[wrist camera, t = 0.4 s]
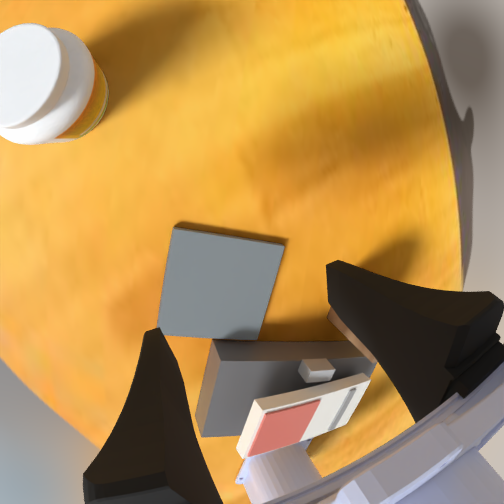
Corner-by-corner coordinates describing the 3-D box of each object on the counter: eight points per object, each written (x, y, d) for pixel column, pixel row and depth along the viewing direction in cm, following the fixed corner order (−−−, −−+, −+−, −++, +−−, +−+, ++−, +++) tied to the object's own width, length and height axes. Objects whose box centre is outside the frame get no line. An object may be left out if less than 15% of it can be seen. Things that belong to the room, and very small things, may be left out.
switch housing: (333, 405, 33) (352, 430, 29) (194, 416, 27) (205, 451, 23) (365, 339, 31) (391, 363, 27) (212, 338, 25) (227, 373, 21)
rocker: (339, 417, 29) (347, 425, 28) (235, 448, 23) (243, 460, 22) (362, 372, 27) (372, 380, 26) (254, 399, 21) (264, 412, 20)
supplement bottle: (107, 52, 16) (82, -12, 7) (113, 132, 18) (86, 125, 9) (29, 72, 14) (-42, 35, 6) (35, 151, 16) (-40, 165, 8)
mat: (254, 336, 26) (256, 340, 25) (156, 329, 23) (156, 334, 22) (281, 243, 24) (284, 246, 23) (173, 226, 21) (173, 229, 20)
